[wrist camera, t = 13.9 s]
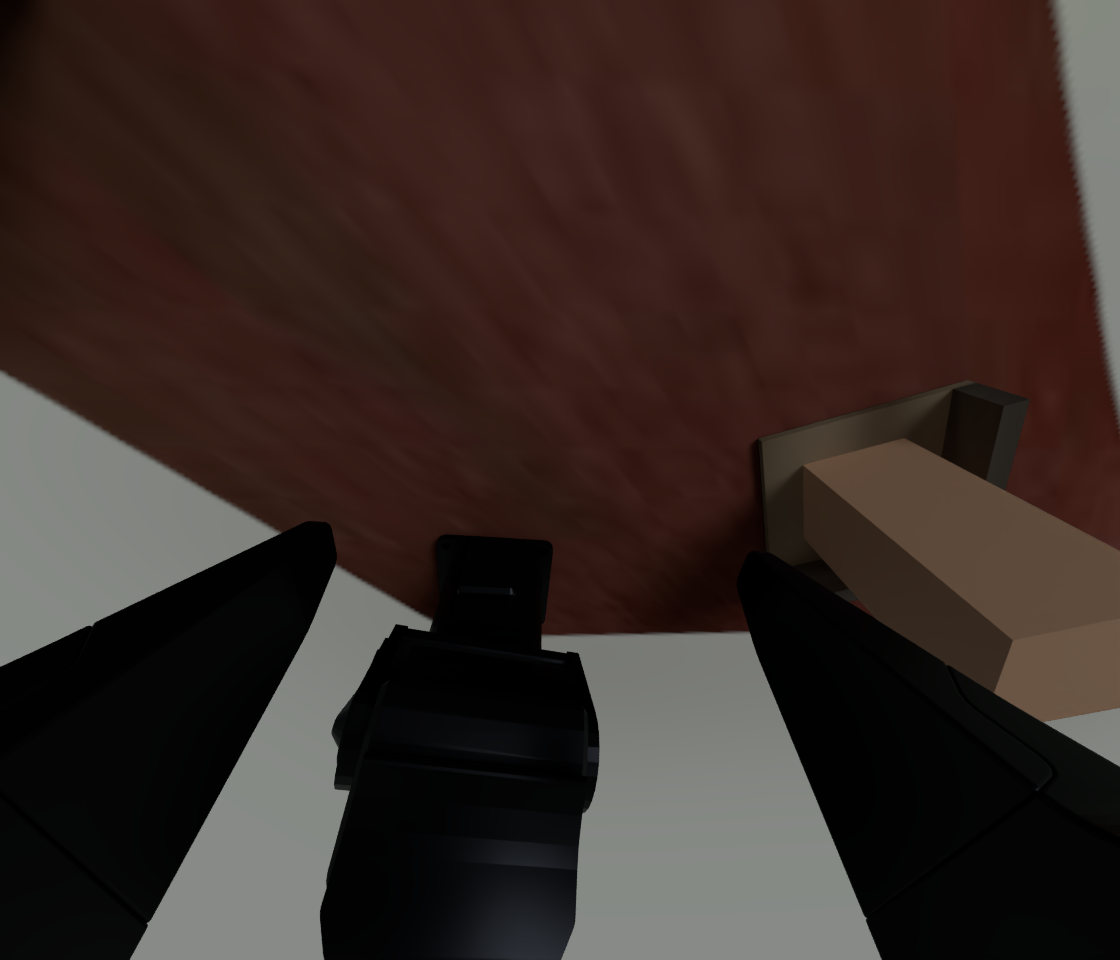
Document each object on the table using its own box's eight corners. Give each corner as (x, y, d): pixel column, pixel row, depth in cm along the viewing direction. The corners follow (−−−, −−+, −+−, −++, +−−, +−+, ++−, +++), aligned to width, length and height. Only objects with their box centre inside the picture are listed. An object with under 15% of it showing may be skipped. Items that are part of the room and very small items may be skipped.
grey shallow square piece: (768, 578, 26) (792, 614, 23) (758, 438, 21) (787, 464, 18) (937, 538, 25) (982, 571, 22) (967, 380, 20) (1029, 399, 17)
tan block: (803, 538, 24) (978, 733, 14) (803, 465, 21) (1013, 640, 12) (894, 515, 23) (1141, 703, 14) (904, 438, 21) (1211, 599, 11)
